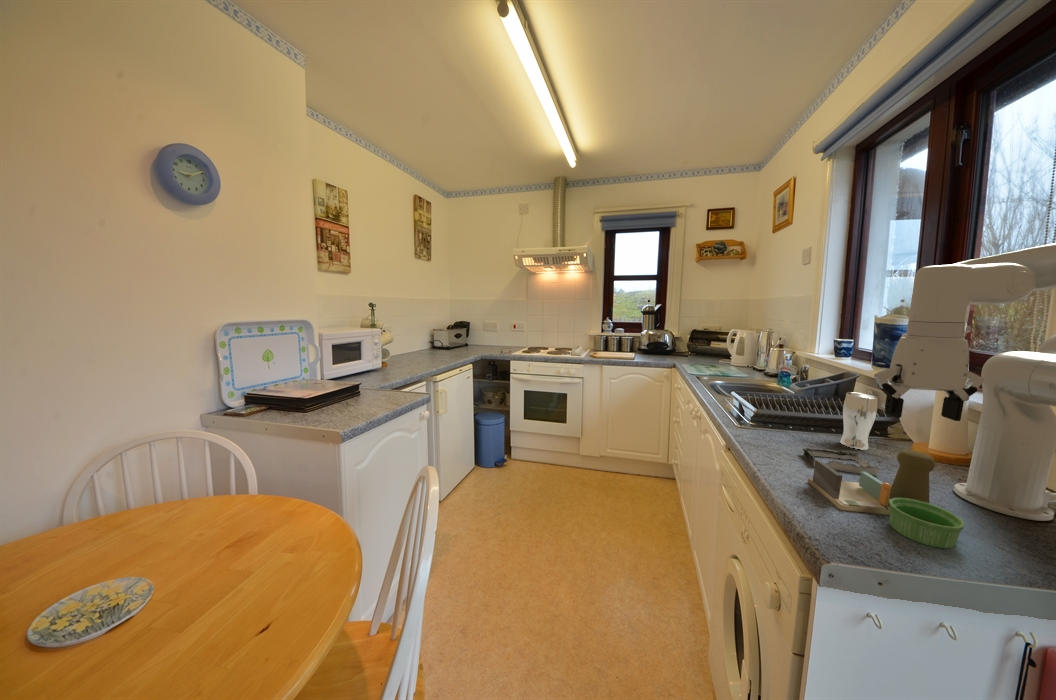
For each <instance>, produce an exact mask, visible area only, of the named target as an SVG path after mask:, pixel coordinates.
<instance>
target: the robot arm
mask: <svg viewBox="0 0 1056 700" xmlns="http://www.w3.org/2000/svg"><path fill="white" fill-rule="evenodd" d="M1052 289H1053V290H1054V289H1056V242H1054V243H1050V244H1044V245H1040V246H1039V245H1038V246H1034V247H1028V248H1024V249H1020V250H1015V251H1010V252H1005V253H1000V254H999V253H998V254H995V255H990V256H985V257H979V258H978V257H977V258H974V259H968V260H963V261H959V262H956V263H952V264H941V265H939V264H937V265H928V266H923V267H921V268H918V270H917V271H916V272H915V275H914V281H913V288H912V293H911V300H910V307H909V315H908V321H907V325H906V326H907V327H906V333H905V336H901V337H900V338H899V340H898V341H897V344H896V345H895V346H896V347H895V349H894V351H893V355H892V357H891V362H890V366H889V368H886V369H884V370H882V371H879V372H876V373H874V375H873V377H874V379H875V381H876V384H877V387H878V388H879V389H880V390H881V391H882V393H883V395H885V396H886V398H885V405H884V413H885V415H888V416H890V417H893V418H895V419H900V418H902V416H903V415H902V414H903V408H904V402H905V400H904V398H902V396H903V395H905V394H906V393H907V392H908V391H910V390H914V391H915V390H919V391H939V392H945V393H946V395H947V396H944V398H943V400H942V401H943V402H942V409H941V414H940V415H941V416H942V417H943V418H946V419H949V420H952V421H954V422H961V420H962V415H963V410H964V409H963V408H964V403H965V402H967V401H969V400H970V398H971V396H973V395H974V394H975V393H977V392H978V389H979V388H980V386H981V388H982V405H981V411H980V417H979V422H978V427H977V432H976V437H975V440H974V441H975V442H974V446H973V450H972V455H971V460H970V463H969V464H970V466H969V469H968V474H967V478H966V479H967V480H966V482H958V483H955V484H954V485H953V491H954V493H955V495H957V496H959V497H960V498H962V499H964V500H966V501H967V502H970V503H972V504H974V505H977V506H979V507H982V508H984V509H987V510H990V511H993V512H997V513H999V514H1000V513H1001V514H1002V515H1007V516H1009V517H1015V518H1019V519H1024V520H1031V521H1038V522H1040V521H1041V522H1045V521H1047V522H1048V521H1052V520H1053V519H1054V517H1055V511H1054V510H1053V509H1052V508H1051V507H1048V505H1049V504H1052V503H1056V492H1051V491H1049V490H1046V488H1047V485H1048V481H1049V476H1050V472H1051V469H1052V464H1053V461H1054V456H1055V452H1056V414H1055V412H1054V410H1053V408H1052V407H1056V333H1055V334H1053V335H1051V336H1049V338H1047V339H1046V340H1044V341H1043V342H1042V343H1041V344H1040V346H1039V348H1038V351H1037V352H1036V351H1027V350H1025V351H1024V350H1015V351H1012V350H1011V351H1005V352H1004V351H1003V352H1001V353H998V354H995V355H993V356H991V357H989V358H988V359H987V360H986V361H985V363H984V364H983V366H982V369H981V374H980V375H978V374H976V373H974V372H972V371H969V367H970V349H969V341H968V339H965V338H966V333H968V334H969V333H971V331H972V326H970V325H968V320H969V315H970V311H971V305H975V306H976V305H977V306H978V305H979V306H981V305H982V306H985V305H987V306H996V305H997V306H999V305H1008V304H1013V303H1016V302H1019V301H1021V300H1023V299H1025V298H1026V297H1028V296H1029V295H1031V293H1032V292H1033V291H1044V290H1045V291H1046V290H1052ZM1051 406H1052V407H1051Z"/></svg>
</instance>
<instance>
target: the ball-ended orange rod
mask: <svg viewBox="0 0 1056 700" xmlns="http://www.w3.org/2000/svg"><path fill="white" fill-rule="evenodd" d="M881 486H882V487H881V491H880V497H879V502H880V503H881V504H882V505H884V506H888V503H889V497H890V492H891V491H890V489H891V487H892V484H891V483H888V482H883V483H882V484H881Z"/></svg>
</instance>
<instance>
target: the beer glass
mask: <svg viewBox="0 0 1056 700" xmlns="http://www.w3.org/2000/svg"><path fill="white" fill-rule="evenodd" d="M878 399H879V397H878V396H876V395H874V394H868V393H863V392H855V391H854V392H853V391H848V392H846V393H845V398H844V403H843V408H842V420H843V421H842V422H843V432H842V436H841V438H840V441H839V443H841V444H842V446H843V445H845V446H844V447H846V446H847V447H846V448H848V447H850V449H852V448H855V449H854V450H857V449H860V450H859V451H867V449H868V450H869V441H868V440H869V435H870V432H871V430H872V427H873V425H874V423H875V420H876V417H877V413H878V412H877V411H878V401H879V400H878ZM841 444H840V445H841Z"/></svg>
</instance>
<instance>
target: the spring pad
mask: <svg viewBox="0 0 1056 700" xmlns="http://www.w3.org/2000/svg"><path fill="white" fill-rule="evenodd" d="M858 483H859V486H860V487H862V488H863V489H865V490H866V491H867V492H869V493H870V494H872V495H873V496H875V497H876V498H878V499H879V497H880V491H881V487H882V486H881V484H882V483H884V482H883V481H882V480H880V479H878V478H877V477H875V476H873V475H870V474H869V473H867V472H861V474H860V475H859V481H858ZM890 500H891V499H889V501H890ZM888 506H890V505H889V503H888Z"/></svg>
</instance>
